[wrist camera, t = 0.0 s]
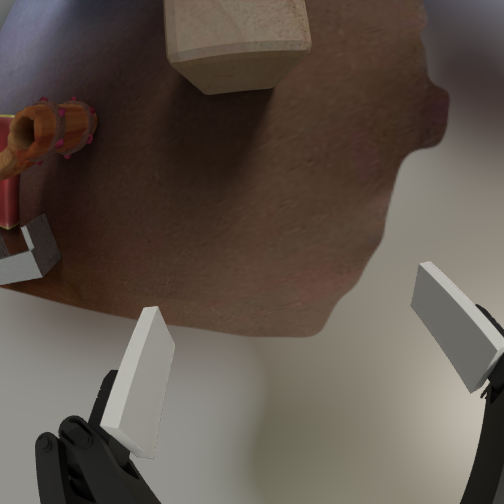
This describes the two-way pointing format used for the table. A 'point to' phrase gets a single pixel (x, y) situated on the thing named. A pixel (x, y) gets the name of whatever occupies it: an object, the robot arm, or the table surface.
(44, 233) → the end cap
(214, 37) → the wooden block
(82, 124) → the mug
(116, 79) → the table surface
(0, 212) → the hardcover book
